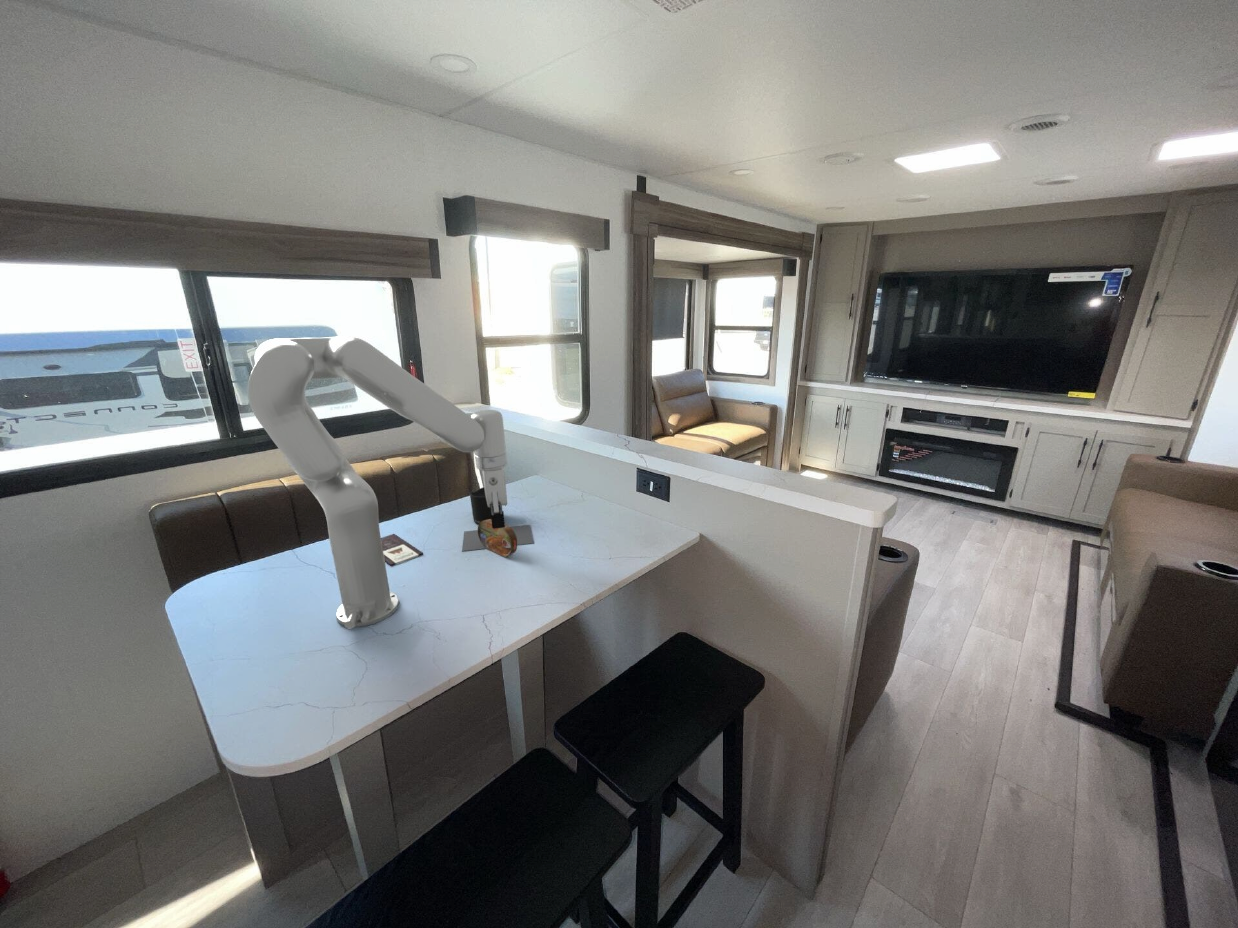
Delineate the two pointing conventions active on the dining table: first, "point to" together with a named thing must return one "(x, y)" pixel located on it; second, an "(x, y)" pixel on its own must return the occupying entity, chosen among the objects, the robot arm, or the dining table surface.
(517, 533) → the mat
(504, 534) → the tin
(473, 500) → the pen holder
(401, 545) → the chocolate bar
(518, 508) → the dining table surface
